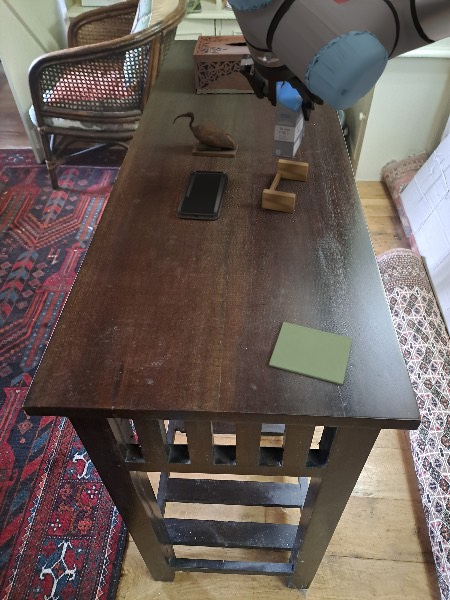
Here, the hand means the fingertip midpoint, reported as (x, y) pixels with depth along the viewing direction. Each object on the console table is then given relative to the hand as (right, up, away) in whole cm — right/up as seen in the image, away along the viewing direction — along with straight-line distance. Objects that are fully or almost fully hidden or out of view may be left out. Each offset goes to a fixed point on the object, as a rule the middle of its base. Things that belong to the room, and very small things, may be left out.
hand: (296, 111), depth 82 cm
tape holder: (-1, -13, +8) cm, 15 cm away
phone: (-17, -14, +8) cm, 23 cm away
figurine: (-17, 0, +21) cm, 27 cm away
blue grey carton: (-1, -6, +1) cm, 6 cm away
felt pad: (-1, -41, -19) cm, 45 cm away
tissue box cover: (-7, +27, +46) cm, 53 cm away
